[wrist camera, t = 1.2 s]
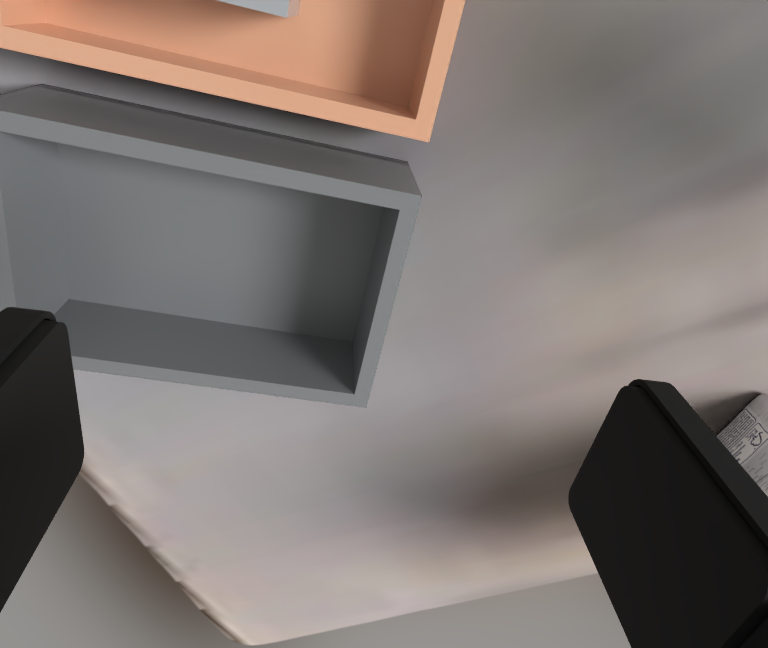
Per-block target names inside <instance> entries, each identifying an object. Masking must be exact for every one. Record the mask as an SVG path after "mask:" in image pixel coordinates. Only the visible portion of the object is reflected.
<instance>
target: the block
mask: <svg viewBox="0 0 768 648" xmlns="http://www.w3.org/2000/svg"><path fill="white" fill-rule="evenodd" d="M217 1H221V2H225V3H229V4H233V5H237V6H241V7H245V8H249V9H253V10H257V11H261V12H265V13H269V14H273V15H277V16H281V17H285V18H289V17H293V16H297V15H299V10H300V2H301V0H217Z"/></svg>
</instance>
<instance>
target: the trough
mask: <svg viewBox="0 0 768 648" xmlns="http://www.w3.org/2000/svg"><path fill="white" fill-rule="evenodd" d="M464 4H465V0H301V2H300V10H299V15H297V16H293V17H289V18H285V17H281V16H277V15H273V14H269V13H265V12H261V11H257V10H253V9H249V8H245V7H241V6H237V5H233V4H229V3H225V2H221V1H217V0H0V48H4V49H9V50H13V51H18V52H23V53H27V54H32V55H36V56H41V57H45V58H50V59H54V60H59V61H63V62H68V63H72V64H77V65H81V66H86V67H90V68H95V69H99V70H104V71H109V72H113V73H118V74H122V75H127V76H131V77H136V78H140V79H145V80H149V81H154V82H158V83H163V84H167V85H172V86H176V87H181V88H186V89H190V90H195V91H199V92H204V93H208V94H213V95H217V96H222V97H226V98H231V99H235V100H240V101H244V102H249V103H253V104H258V105H262V106H267V107H272V108H276V109H281V110H285V111H290V112H294V113H299V114H303V115H308V116H312V117H317V118H321V119H326V120H330V121H335V122H339V123H344V124H348V125H353V126H358V127H362V128H367V129H371V130H376V131H380V132H385V133H389V134H394V135H398V136H403V137H407V138H412V139H416V140H421V141H425V142H429V140H430V136H431V133H432V129H433V125H434V121H435V117H436V113H437V109H438V105H439V101H440V97H441V94H442V90H443V86H444V82H445V78H446V74H447V70H448V66H449V62H450V58H451V55H452V51H453V47H454V43H455V39H456V35H457V31H458V27H459V23H460V20H461V16H462V12H463V8H464Z"/></svg>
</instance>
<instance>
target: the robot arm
mask: <svg viewBox="0 0 768 648" xmlns="http://www.w3.org/2000/svg"><path fill="white" fill-rule="evenodd" d="M83 458H84V445H83V437H82V430H81V423H80V415H79V408H78V401H77V394H76V386H75V379H74V372H73V364H72V357H71V350H70V343H69V335H68V330H67V326H66V325H65V323H63V322H57V321H56V318H55V316H54V315H53V313H51V312H50V311H43V310H34V309H25V308H17V307H7V308H5V309H3V310H2V311H1V312H0V612H1V610H2V609H3V607H4V605H5V603H6V601H7V599H8V598H9V596H10V594H11V593H12V591H13V589H14V587H15V585H16V584H17V582H18V580H19V578H20V576H21V575H22V573H23V571H24V569H25V568H26V566H27V564H28V562H29V561H30V559H31V557H32V555H33V553H34V552H35V550H36V548H37V546H38V545H39V543H40V541H41V539H42V537H43V535H44V534H45V532H46V530H47V529H48V527H49V525H50V523H51V521H52V520H53V518H54V516H55V514H56V513H57V511H58V509H59V507H60V506H61V504H62V502H63V500H64V498H65V497H66V495H67V493H68V491H69V489H70V488H71V486H72V484H73V482H74V481H75V479H76V477H77V475H78V473H79V471H80V469H81V466H82V463H83ZM569 507H570V510H571V512H572V514H573V517H574V519H575V521H576V523H577V526H578V528H579V530H580V532H581V535H582V537H583V539H584V542H585V544H586V546H587V548H588V551H589V553H590V555H591V557H592V560H593V562H594V564H595V566H596V569H597V571H598V573H599V575H600V578H601V579H602V582H603V584H604V586H605V589H606V591H607V593H608V595H609V598H610V600H611V602H612V605H613V607H614V609H615V611H616V613H617V616H618V618H619V620H620V623H621V625H622V627H623V629H624V632H625V634H626V636H627V638H628V641H629V643H630V645H631V648H768V496H767V495H766V494H765V493H764V492H763V490H762V489H761V488H760V487H759V486H758V485H757V483H756V482H755V481H754V480H753V479H752V477H751V476H750V475H749V474H748V473H747V472H746V470H745V469H744V468H743V467H742V466H741V465H740V463H739V462H738V461H737V460H736V459H735V458H734V456H733V455H732V454H731V453H730V452H729V451H728V449H727V448H726V447H725V446H724V445H723V444H722V442H721V441H720V440H719V439H718V438H717V436H716V435H715V434H714V433H713V432H712V431H711V429H710V428H709V427H708V426H707V425H706V424H705V422H704V421H703V420H702V419H701V418H700V417H699V415H698V414H697V413H696V412H695V411H694V410H693V408H692V407H691V406H690V405H689V404H688V402H687V401H686V400H685V399H684V398H683V397H682V395H681V394H680V393H679V392H678V391H677V390H676V388H675V387H674V386H672V385H671V384H670V383H666V382H659V381H650V380H642V379H637V380H633V381H632V382H631V383H630V384H629V385H628V386H624V387H623V388H621V389H620V391H619V392H618V394H617V396H616V398H615V400H614V402H613V404H612V406H611V408H610V410H609V412H608V414H607V416H606V418H605V420H604V422H603V424H602V426H601V428H600V430H599V432H598V434H597V436H596V438H595V440H594V442H593V444H592V446H591V448H590V450H589V452H588V454H587V456H586V458H585V460H584V462H583V464H582V466H581V468H580V470H579V472H578V474H577V476H576V478H575V480H574V482H573V484H572V486H571V488H570V491H569Z"/></svg>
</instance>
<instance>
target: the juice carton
mask: <svg viewBox="0 0 768 648" xmlns="http://www.w3.org/2000/svg"><path fill="white" fill-rule="evenodd" d="M717 438H718V439H719V440H720V441H721V442H722V444H723V445H724V446H725V447H726V448H727V449H728V451H729V452H730V453H731V454H732V455H733V456H734V458H735V459H736V460H737V461H738V462H739V463H740V465H741V466H742V467H743V468H744V469H745V470H746V472H747V473H748V474H749V475H750V476H751V477H752V479H753V480H754V481H755V482H756V483H757V485H758V486H759V487H760V488H761V489H762V490H763V492H764V493H765V494H766V495H767V496H768V394H761V395H759V396H757V397H756V398H755V399H754V400H753V401H751V402H750V403H749V404H748V405H747V406H746V407H745V408H744V409H743V410H742V411H741V412H740V413H739V414H738V415H737V416H736V417H735V418H734V419H733V420H732V421H731V422H730V423H729V424H728V425H727V426H726V427H725V428H724V429H723V430H722V431H721V432H720V433H719V434H718V435H717Z"/></svg>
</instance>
